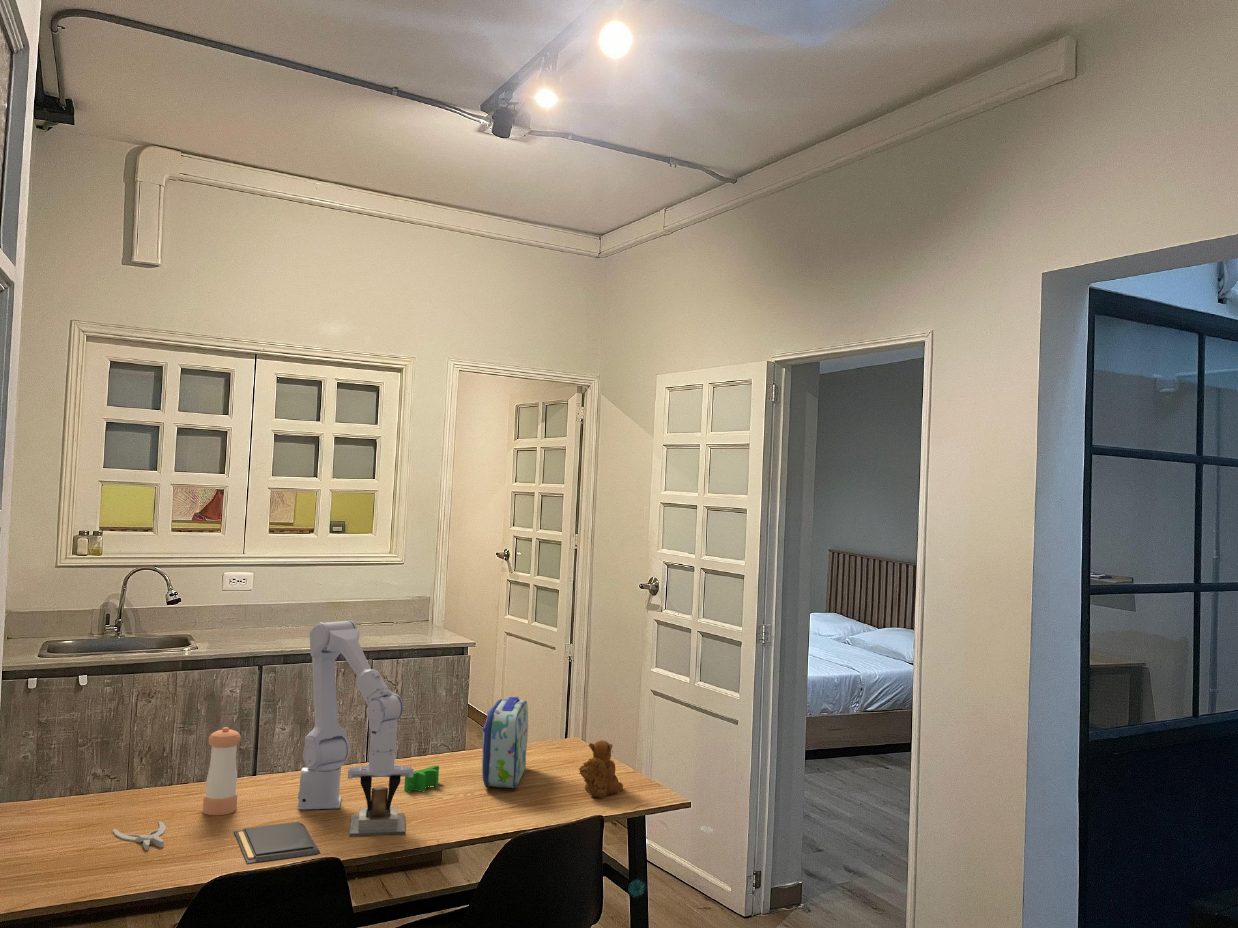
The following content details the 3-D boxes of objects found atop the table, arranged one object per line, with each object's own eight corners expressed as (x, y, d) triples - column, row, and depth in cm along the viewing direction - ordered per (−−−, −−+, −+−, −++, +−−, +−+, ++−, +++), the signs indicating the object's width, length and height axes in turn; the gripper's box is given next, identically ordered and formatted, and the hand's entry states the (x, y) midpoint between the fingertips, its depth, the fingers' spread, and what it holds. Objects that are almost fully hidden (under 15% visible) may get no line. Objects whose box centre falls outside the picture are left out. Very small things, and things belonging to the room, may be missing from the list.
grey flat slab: (321, 848, 188) (243, 858, 180) (321, 857, 188) (242, 868, 180) (305, 817, 205) (233, 825, 198) (305, 825, 205) (233, 833, 198)
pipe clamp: (414, 795, 228) (415, 777, 229) (404, 792, 231) (405, 774, 231) (445, 784, 238) (446, 767, 238) (435, 781, 240) (436, 764, 240)
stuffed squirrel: (624, 788, 243) (626, 738, 244) (610, 803, 229) (612, 751, 230) (589, 783, 246) (591, 734, 246) (573, 798, 232) (575, 746, 233)
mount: (349, 836, 198) (350, 823, 198) (351, 817, 210) (352, 805, 210) (404, 833, 201) (405, 821, 201) (404, 815, 213) (404, 803, 213)
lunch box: (491, 763, 259) (495, 690, 260) (528, 765, 259) (532, 692, 260) (476, 792, 233) (480, 710, 234) (517, 794, 233) (522, 713, 234)
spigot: (369, 817, 204) (371, 791, 204) (370, 812, 207) (372, 786, 208) (385, 817, 204) (387, 790, 205) (386, 812, 208) (388, 786, 208)
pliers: (162, 816, 201) (180, 838, 189) (161, 824, 201) (180, 845, 189) (112, 825, 194) (128, 847, 183) (111, 832, 194) (128, 855, 183)
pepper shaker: (195, 810, 209) (201, 727, 210) (222, 802, 215) (228, 721, 216) (216, 817, 205) (222, 732, 206) (243, 808, 212) (249, 726, 213)
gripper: (348, 754, 201) (344, 815, 200) (415, 753, 204) (411, 813, 204) (350, 745, 208) (346, 805, 207) (414, 744, 211) (410, 803, 211)
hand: (378, 808), depth 206 cm, fingers closed on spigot, 4 cm apart
